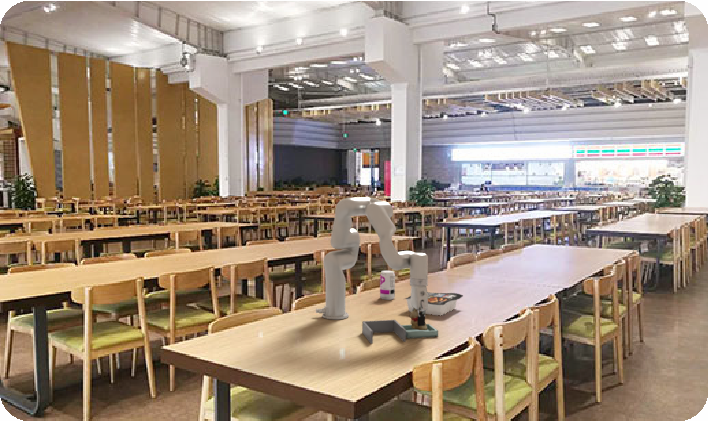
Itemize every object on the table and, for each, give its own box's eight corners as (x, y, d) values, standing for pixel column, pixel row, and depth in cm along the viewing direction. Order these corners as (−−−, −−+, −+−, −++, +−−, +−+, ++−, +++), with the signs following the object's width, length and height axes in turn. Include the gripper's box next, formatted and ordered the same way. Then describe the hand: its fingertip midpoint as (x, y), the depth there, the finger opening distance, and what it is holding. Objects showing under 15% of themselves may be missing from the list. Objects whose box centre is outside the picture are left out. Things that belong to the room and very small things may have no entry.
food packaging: (444, 303, 266) (401, 297, 278) (443, 318, 266) (401, 312, 278) (463, 294, 287) (422, 289, 299) (463, 308, 288) (422, 303, 300)
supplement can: (382, 300, 305) (382, 273, 304) (378, 297, 313) (378, 270, 312) (396, 299, 307) (397, 272, 307) (391, 296, 315) (392, 270, 315)
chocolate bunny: (419, 325, 244) (420, 302, 244) (428, 329, 237) (428, 306, 236) (408, 326, 242) (408, 303, 242) (417, 331, 235) (417, 307, 234)
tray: (407, 338, 233) (407, 332, 233) (399, 330, 244) (399, 325, 244) (438, 336, 236) (438, 330, 235) (429, 329, 247) (429, 323, 247)
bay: (370, 343, 225) (370, 331, 225) (362, 332, 241) (362, 321, 241) (405, 341, 228) (405, 329, 228) (395, 331, 244) (395, 319, 244)
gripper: (434, 285, 231) (433, 328, 232) (420, 278, 248) (420, 317, 249) (416, 286, 229) (416, 329, 230) (404, 278, 246) (404, 318, 247)
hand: (418, 323), depth 240 cm, fingers closed on chocolate bunny, 6 cm apart
